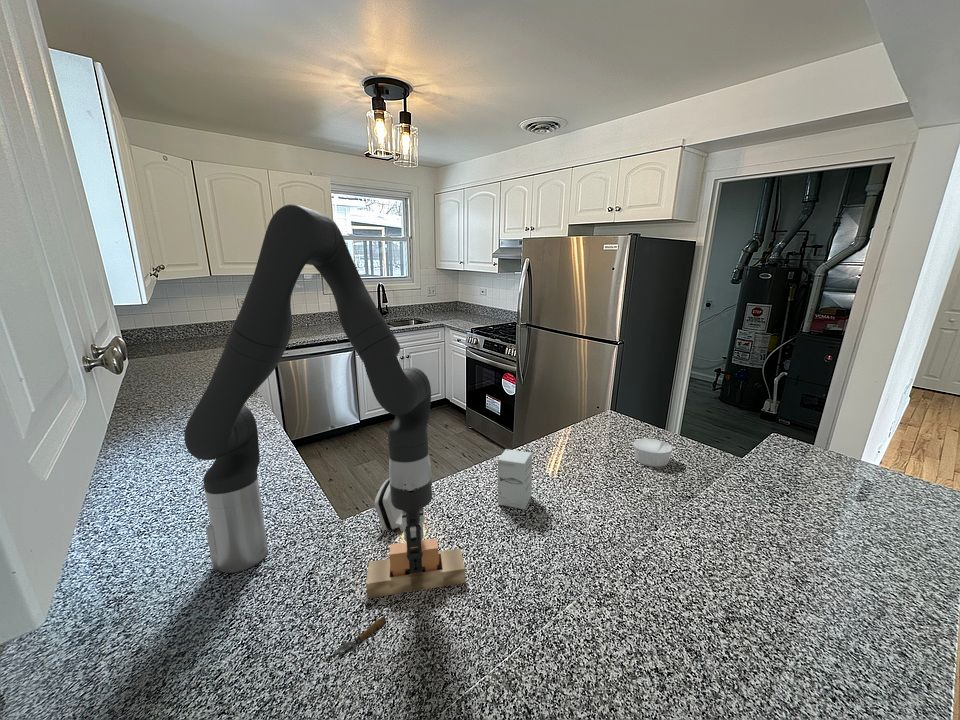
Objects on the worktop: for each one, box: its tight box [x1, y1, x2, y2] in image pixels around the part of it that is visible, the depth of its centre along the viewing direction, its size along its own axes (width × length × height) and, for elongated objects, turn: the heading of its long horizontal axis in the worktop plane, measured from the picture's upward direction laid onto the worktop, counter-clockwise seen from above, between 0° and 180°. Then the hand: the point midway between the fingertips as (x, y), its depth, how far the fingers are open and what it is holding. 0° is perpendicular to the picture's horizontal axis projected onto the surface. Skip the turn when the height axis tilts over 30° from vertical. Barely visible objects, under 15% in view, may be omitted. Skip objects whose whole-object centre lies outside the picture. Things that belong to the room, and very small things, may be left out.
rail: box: [365, 548, 466, 599], centre depth 75 cm, size 18×6×3 cm, turn 101°
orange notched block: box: [388, 537, 439, 577], centre depth 75 cm, size 9×3×7 cm, turn 100°
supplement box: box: [497, 448, 533, 510], centre depth 101 cm, size 7×7×13 cm
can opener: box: [333, 616, 387, 658], centre depth 63 cm, size 9×2×1 cm, turn 133°
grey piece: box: [374, 478, 404, 533], centre depth 98 cm, size 17×5×10 cm, turn 170°
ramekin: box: [632, 438, 673, 468], centre depth 123 cm, size 11×11×5 cm
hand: (415, 556), depth 75 cm, fingers open, 8 cm apart
